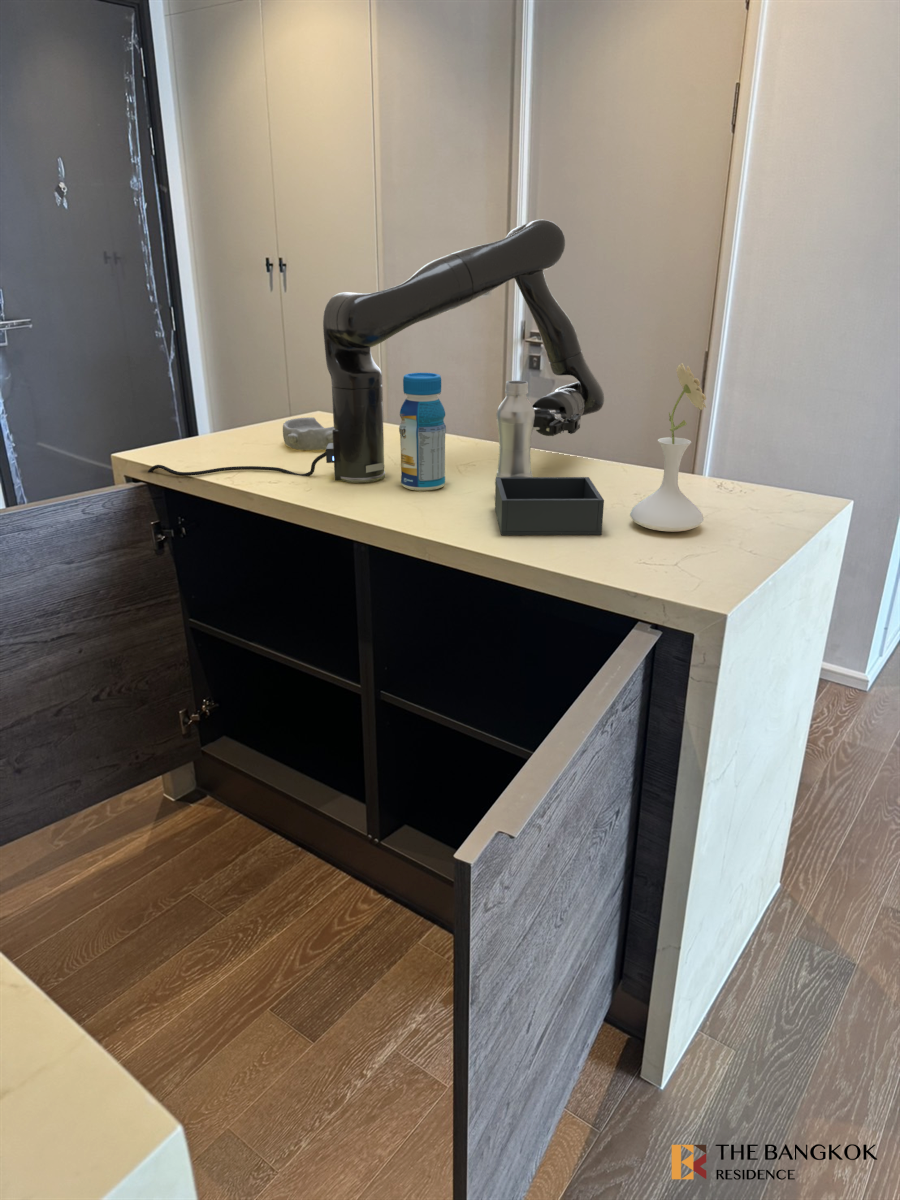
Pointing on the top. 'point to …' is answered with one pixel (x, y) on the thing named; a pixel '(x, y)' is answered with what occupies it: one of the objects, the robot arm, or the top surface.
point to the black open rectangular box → (548, 506)
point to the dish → (306, 434)
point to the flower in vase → (672, 474)
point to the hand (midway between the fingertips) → (528, 428)
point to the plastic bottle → (515, 431)
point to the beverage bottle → (422, 433)
